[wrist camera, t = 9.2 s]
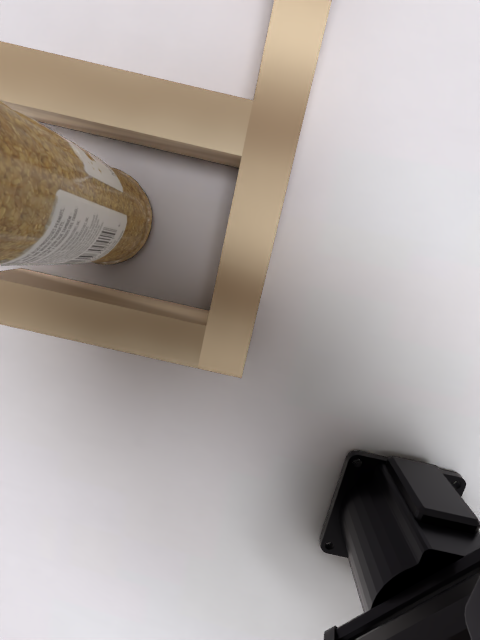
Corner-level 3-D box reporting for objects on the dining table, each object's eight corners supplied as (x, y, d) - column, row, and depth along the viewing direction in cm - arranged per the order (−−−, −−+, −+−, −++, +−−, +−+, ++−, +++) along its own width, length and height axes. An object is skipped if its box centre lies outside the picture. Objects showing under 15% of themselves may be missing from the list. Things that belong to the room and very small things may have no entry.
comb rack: (243, 356, 20) (241, 378, 17) (18, 305, 19) (-25, 318, 16) (352, -106, 15) (376, -188, 12) (59, -177, 15) (11, -277, 12)
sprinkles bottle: (138, 157, 18) (-245, -167, 4) (165, 252, 18) (-95, 228, 5) (48, 184, 18) (-551, -33, 5) (78, 276, 19) (-378, 314, 5)
